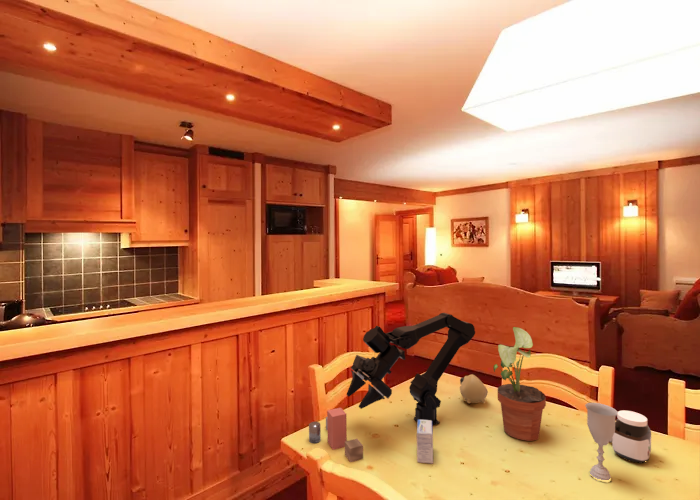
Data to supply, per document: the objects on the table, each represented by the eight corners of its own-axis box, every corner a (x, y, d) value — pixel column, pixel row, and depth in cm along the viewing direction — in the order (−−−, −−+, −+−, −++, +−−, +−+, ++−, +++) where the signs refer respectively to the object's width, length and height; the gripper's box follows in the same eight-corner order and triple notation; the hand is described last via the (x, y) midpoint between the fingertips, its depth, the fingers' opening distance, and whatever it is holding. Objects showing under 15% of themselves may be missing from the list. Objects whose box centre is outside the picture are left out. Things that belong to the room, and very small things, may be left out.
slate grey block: (337, 426, 123) (337, 414, 123) (341, 432, 119) (341, 420, 119) (325, 429, 121) (325, 417, 121) (330, 434, 118) (330, 422, 117)
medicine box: (433, 464, 102) (433, 433, 101) (416, 462, 102) (416, 432, 102) (432, 448, 109) (432, 420, 109) (417, 446, 110) (417, 418, 110)
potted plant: (489, 419, 126) (489, 318, 125) (537, 423, 123) (538, 320, 122) (498, 444, 111) (498, 330, 110) (553, 450, 108) (554, 332, 106)
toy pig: (481, 395, 146) (481, 368, 145) (491, 409, 134) (491, 380, 133) (456, 394, 146) (456, 368, 146) (463, 408, 134) (463, 380, 134)
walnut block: (357, 451, 108) (357, 438, 108) (363, 459, 104) (362, 445, 104) (344, 455, 107) (344, 441, 106) (350, 462, 103) (350, 448, 103)
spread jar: (640, 469, 99) (640, 426, 98) (594, 448, 108) (594, 410, 108) (657, 454, 105) (658, 414, 105) (613, 436, 115) (613, 400, 114)
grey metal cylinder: (318, 436, 117) (318, 420, 117) (322, 441, 113) (322, 425, 113) (307, 438, 115) (307, 423, 115) (311, 444, 112) (310, 428, 112)
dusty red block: (341, 438, 115) (340, 407, 115) (346, 446, 111) (346, 413, 111) (327, 442, 113) (327, 410, 113) (332, 449, 109) (332, 416, 109)
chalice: (578, 468, 99) (578, 403, 98) (601, 467, 100) (602, 401, 99) (598, 486, 92) (599, 416, 91) (624, 485, 92) (625, 414, 92)
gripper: (356, 338, 124) (325, 376, 120) (382, 354, 107) (348, 398, 103) (376, 358, 127) (347, 395, 123) (405, 377, 110) (373, 420, 106)
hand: (353, 401), depth 114 cm, fingers open, 9 cm apart
